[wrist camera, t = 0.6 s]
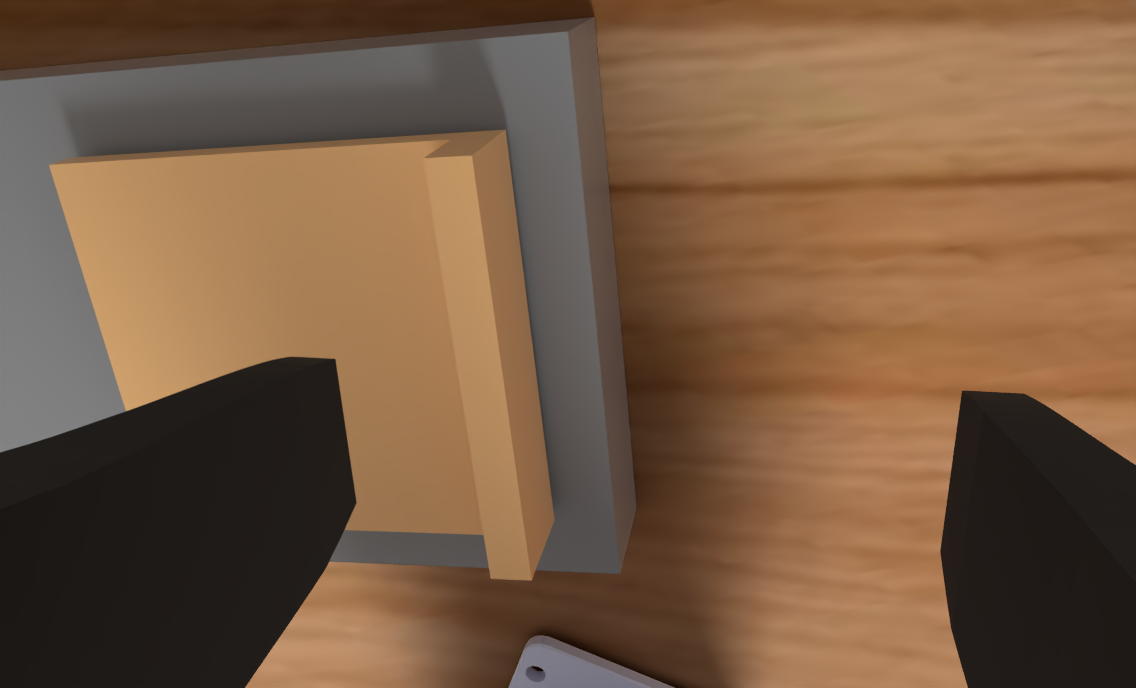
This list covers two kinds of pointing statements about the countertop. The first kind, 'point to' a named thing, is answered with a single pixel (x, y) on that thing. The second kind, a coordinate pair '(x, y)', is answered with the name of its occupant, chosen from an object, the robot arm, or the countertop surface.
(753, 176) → the countertop surface
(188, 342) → the panel
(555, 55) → the socket plate
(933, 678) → the countertop surface
